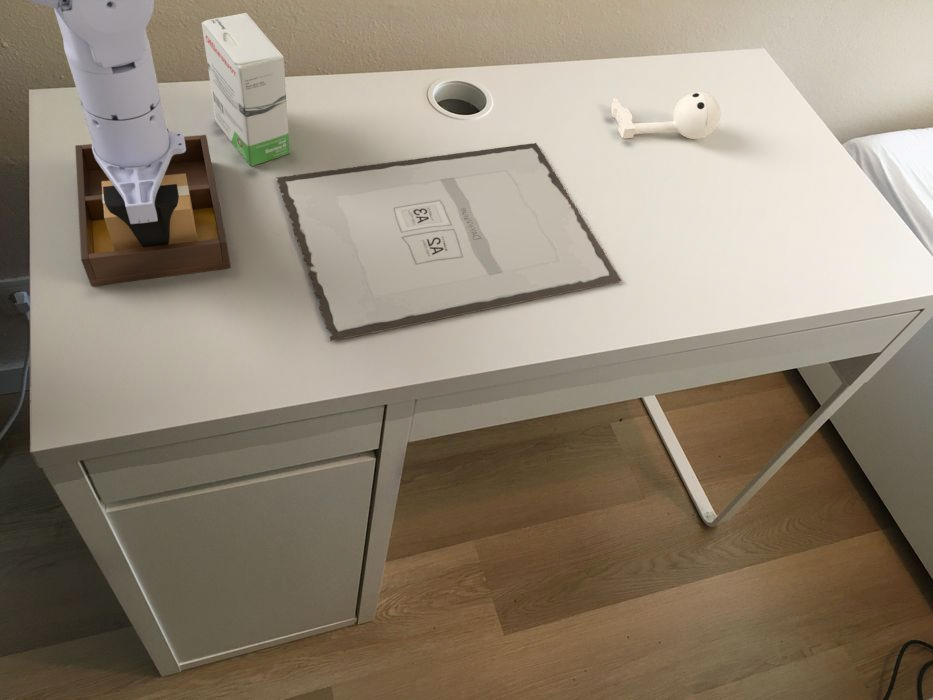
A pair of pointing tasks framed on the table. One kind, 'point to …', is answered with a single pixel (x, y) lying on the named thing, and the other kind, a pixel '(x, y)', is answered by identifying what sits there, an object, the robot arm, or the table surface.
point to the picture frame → (439, 237)
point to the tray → (153, 260)
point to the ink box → (247, 87)
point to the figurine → (675, 118)
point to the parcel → (179, 222)
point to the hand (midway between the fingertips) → (153, 224)
